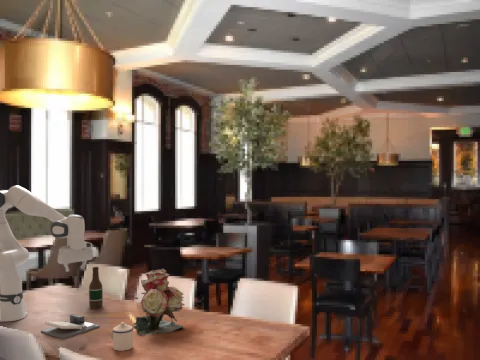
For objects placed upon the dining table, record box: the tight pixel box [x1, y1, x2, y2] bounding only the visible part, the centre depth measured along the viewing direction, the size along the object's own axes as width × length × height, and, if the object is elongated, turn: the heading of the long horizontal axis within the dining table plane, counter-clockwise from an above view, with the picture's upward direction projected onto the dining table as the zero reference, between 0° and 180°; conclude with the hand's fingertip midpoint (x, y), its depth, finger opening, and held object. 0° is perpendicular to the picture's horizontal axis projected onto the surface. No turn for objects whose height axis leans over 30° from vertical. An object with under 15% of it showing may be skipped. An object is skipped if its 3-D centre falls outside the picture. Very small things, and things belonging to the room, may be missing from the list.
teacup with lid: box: [109, 321, 134, 352], centre depth 227 cm, size 12×9×12 cm
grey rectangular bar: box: [69, 313, 97, 328], centre depth 260 cm, size 16×5×4 cm, turn 55°
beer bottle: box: [88, 266, 104, 309], centre depth 300 cm, size 8×8×24 cm
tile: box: [44, 321, 82, 329], centre depth 251 cm, size 12×14×1 cm
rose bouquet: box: [132, 268, 185, 336], centre depth 258 cm, size 26×29×30 cm
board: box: [40, 319, 100, 340], centre depth 255 cm, size 18×22×3 cm
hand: (75, 270), depth 269 cm, fingers open, 8 cm apart
